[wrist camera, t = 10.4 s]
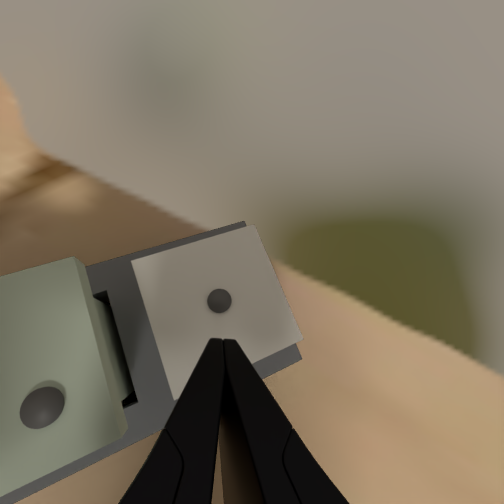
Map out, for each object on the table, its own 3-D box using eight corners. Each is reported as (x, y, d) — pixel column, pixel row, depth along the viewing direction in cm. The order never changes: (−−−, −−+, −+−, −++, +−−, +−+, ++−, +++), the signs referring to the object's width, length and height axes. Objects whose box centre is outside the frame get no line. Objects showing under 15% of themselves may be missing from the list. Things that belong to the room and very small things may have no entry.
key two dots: (150, 395, 14) (120, 439, 8) (24, 452, 12) (-159, 576, 6) (121, 293, 15) (72, 254, 9) (1, 332, 14) (-172, 321, 7)
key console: (273, 355, 19) (302, 359, 14) (-137, 550, 12) (-335, 677, 8) (231, 249, 20) (244, 220, 16) (-148, 370, 14) (-315, 383, 9)
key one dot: (262, 341, 18) (304, 339, 12) (178, 378, 17) (173, 401, 10) (231, 264, 19) (254, 222, 13) (151, 291, 18) (130, 259, 11)
